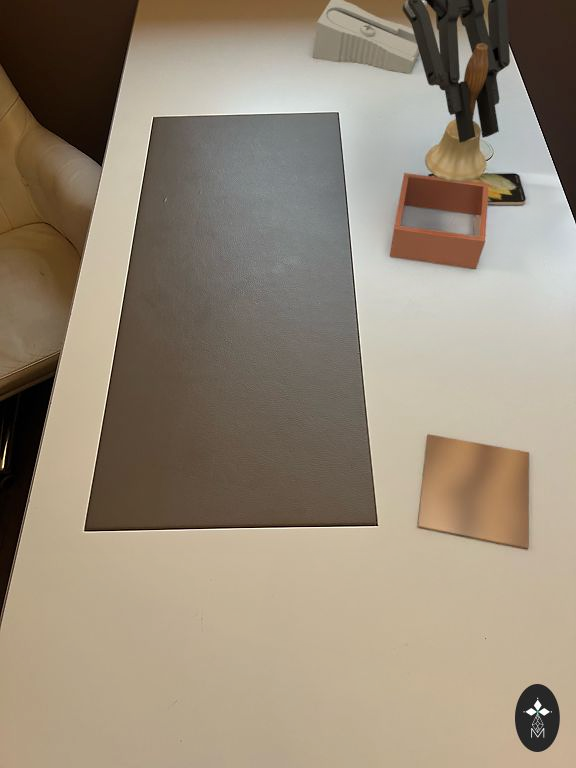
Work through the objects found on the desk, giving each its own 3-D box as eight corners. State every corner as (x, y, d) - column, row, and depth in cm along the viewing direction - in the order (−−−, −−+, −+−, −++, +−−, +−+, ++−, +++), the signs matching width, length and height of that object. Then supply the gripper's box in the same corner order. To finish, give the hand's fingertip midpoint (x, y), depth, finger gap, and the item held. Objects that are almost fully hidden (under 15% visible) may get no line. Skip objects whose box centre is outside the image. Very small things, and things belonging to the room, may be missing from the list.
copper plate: (528, 453, 75) (529, 452, 74) (527, 549, 68) (528, 548, 68) (427, 435, 76) (427, 433, 76) (417, 527, 70) (417, 526, 69)
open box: (480, 212, 99) (488, 183, 94) (476, 269, 92) (485, 241, 87) (399, 201, 100) (404, 172, 96) (389, 256, 93) (394, 228, 89)
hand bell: (472, 190, 82) (505, 71, 69) (414, 169, 85) (436, 51, 71) (495, 156, 86) (530, 38, 73) (439, 138, 89) (464, 20, 75)
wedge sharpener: (328, 31, 131) (330, -5, 125) (422, 46, 127) (428, 10, 121) (313, 57, 125) (313, 21, 120) (411, 74, 121) (416, 37, 116)
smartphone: (427, 173, 103) (518, 173, 103) (426, 176, 104) (517, 176, 103) (431, 201, 99) (526, 201, 99) (430, 205, 100) (525, 205, 99)
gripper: (489, -63, 78) (518, 132, 83) (373, -44, 75) (409, 155, 80) (523, -99, 71) (552, 117, 75) (396, -79, 68) (434, 143, 73)
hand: (478, 136), depth 78 cm, fingers closed on hand bell, 2 cm apart
